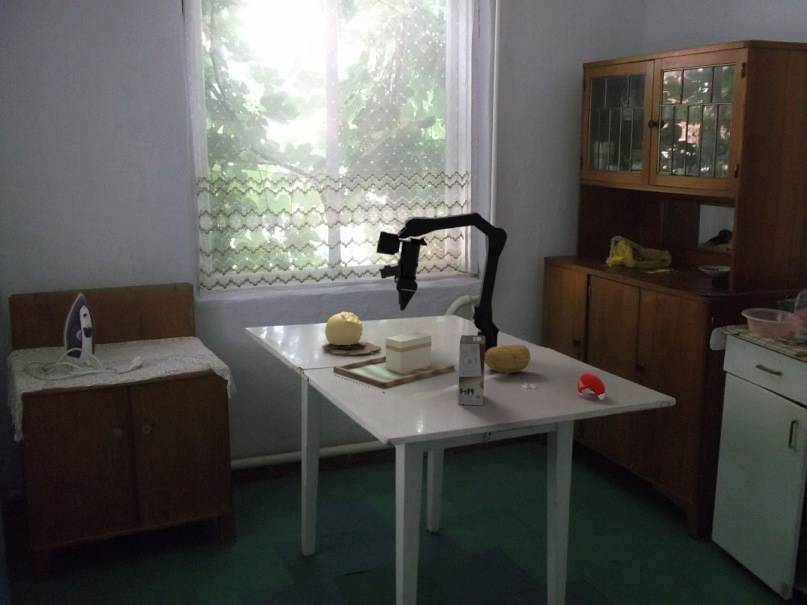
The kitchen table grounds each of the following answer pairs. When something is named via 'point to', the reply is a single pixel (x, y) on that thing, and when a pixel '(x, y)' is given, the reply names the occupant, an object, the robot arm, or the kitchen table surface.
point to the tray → (385, 372)
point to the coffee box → (471, 370)
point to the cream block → (408, 352)
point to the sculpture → (343, 329)
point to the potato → (507, 358)
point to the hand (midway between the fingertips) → (401, 307)
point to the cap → (591, 384)
